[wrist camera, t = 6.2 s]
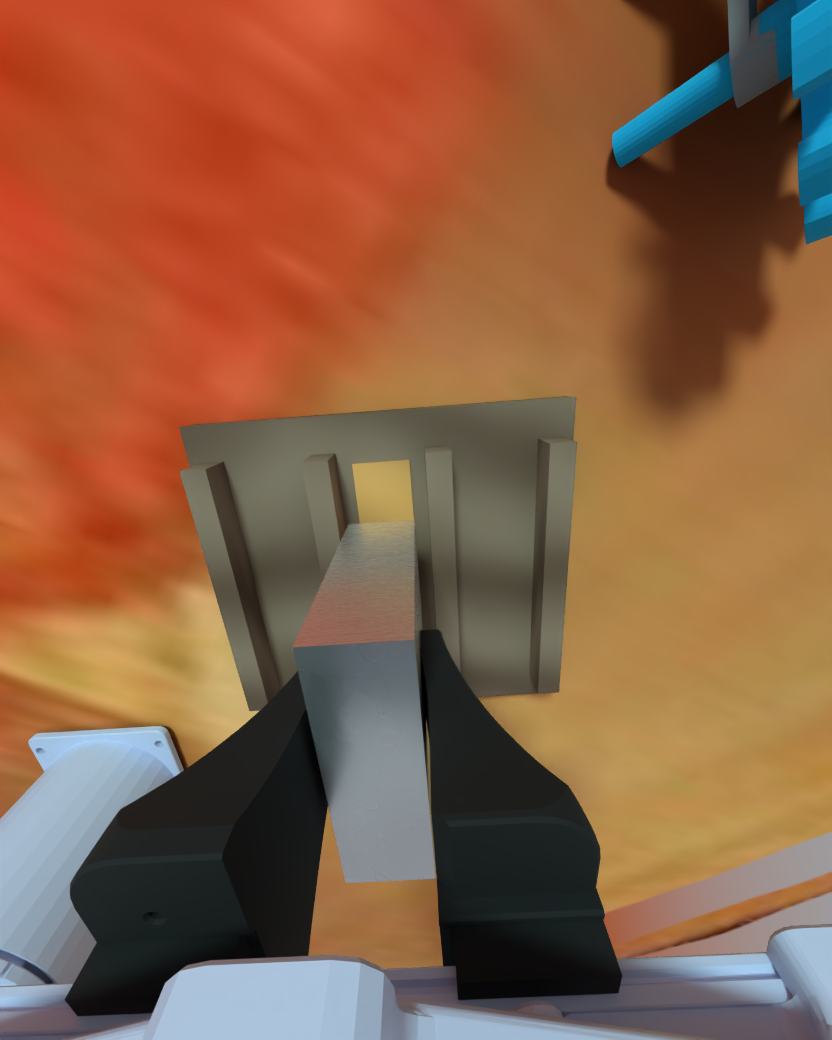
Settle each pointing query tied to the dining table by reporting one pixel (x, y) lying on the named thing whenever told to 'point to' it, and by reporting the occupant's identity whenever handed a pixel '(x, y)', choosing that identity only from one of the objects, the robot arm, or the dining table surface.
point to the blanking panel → (371, 703)
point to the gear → (760, 92)
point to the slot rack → (394, 497)
